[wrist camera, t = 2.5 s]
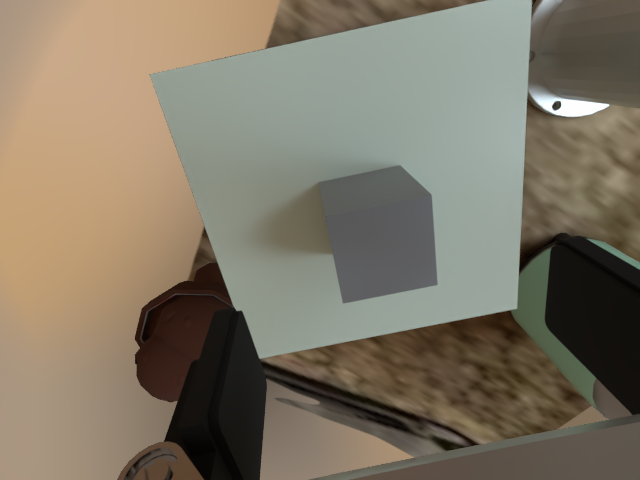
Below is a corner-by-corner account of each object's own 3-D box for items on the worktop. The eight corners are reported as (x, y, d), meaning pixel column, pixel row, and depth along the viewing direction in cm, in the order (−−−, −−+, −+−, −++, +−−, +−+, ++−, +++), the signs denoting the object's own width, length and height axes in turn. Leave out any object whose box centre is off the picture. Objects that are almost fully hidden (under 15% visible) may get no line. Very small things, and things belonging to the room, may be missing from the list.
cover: (407, 31, 32) (621, -39, 11) (420, 203, 38) (568, 364, 18) (225, 70, 32) (96, 77, 11) (271, 234, 39) (243, 425, 18)
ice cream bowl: (233, 336, 45) (205, 452, 32) (150, 289, 42) (79, 397, 28) (285, 278, 42) (280, 378, 28) (201, 222, 38) (149, 306, 25)
